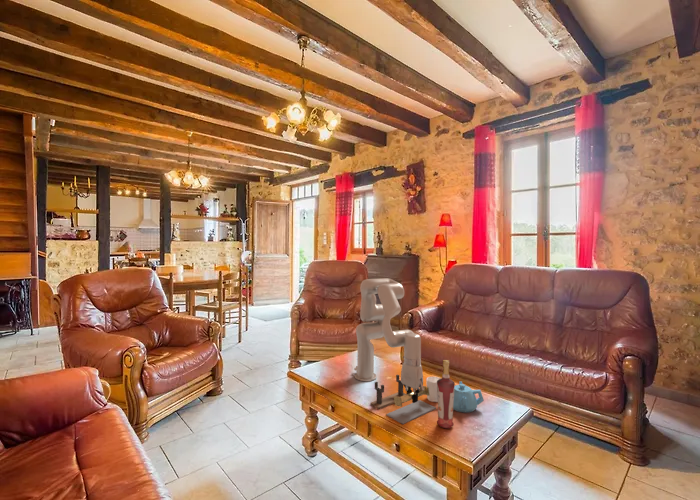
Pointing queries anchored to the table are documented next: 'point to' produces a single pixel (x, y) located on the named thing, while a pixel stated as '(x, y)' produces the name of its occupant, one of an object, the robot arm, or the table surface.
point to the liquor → (445, 398)
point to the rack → (387, 400)
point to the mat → (411, 411)
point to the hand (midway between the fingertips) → (412, 400)
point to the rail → (409, 396)
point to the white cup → (432, 388)
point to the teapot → (466, 398)
